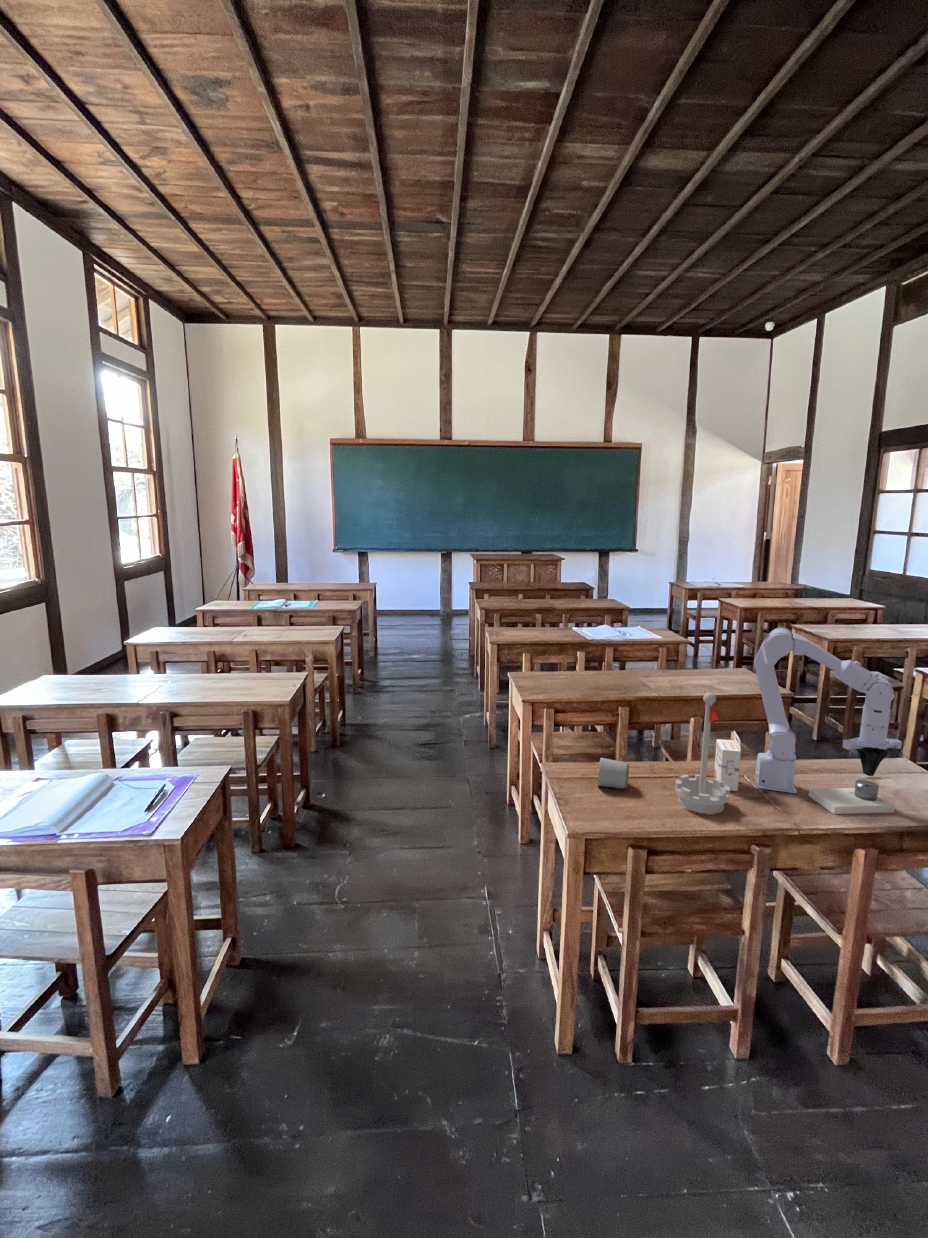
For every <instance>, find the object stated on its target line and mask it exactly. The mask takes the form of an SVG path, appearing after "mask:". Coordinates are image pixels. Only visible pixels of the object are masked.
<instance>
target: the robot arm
mask: <svg viewBox="0 0 928 1238" xmlns="http://www.w3.org/2000/svg"><path fill="white" fill-rule="evenodd" d="M791 652H792V656H806V657H809V658H810V659H811V660H813V661H816V662H817V663H819V664H821V665H823V666H825V667H826V668H828V669H830V670H832V671H833V672H834V675H835V676H834V677H835V678H836V679H837V680H839V681H841V682H842V683H844V684H845V685H847V686H849V687H850V688H852V689H854V690H856V691H857V692H859V693H862V694H865V698H864V699H865V701H864V704H863V706H862V712H861V713H862V715H861V723H860V729H859V737H854V738H849V739H843V740H842V746H841V747H842V748H843V749H845V750H848V751H849V750H852V749H853V750H854V749H855V750H856V752H857V754H858V756H859V759H860V763H861V767H862V773H863V774H864V775H866V776H868V777H874V775H875V773H876V771H877V770H878V767H879V766H880V764H881V762H882V761H883V760H884V759H885V758H886V757H887V756H888V754H889V752H888V751H887V749H897V750H900V749H902V744H903V741H901V740H900V739H897V738H888V731H889V726H890V725H889V723H890V717H891V716H890V714H891V709H890V708H891V705H892V701H893V700H894V698H895V696H896V695H895V691H894V688H893V686H892V684H891V683H890V681H888V679H886V678H885V677H884V676H881V675H880V674H879V673H878V672H874V673H873V672H872V671H870V670H868V669H867V668H864V667H863V666H861V665H862V664H861V662H859V661H858V660H855V661H853V660H851V659H847V660H841V659H840V658H838V657H837V656H835V655H834V654H832V653H830V652H828V651H827V650H825V649H824V648H822V647H820V646H819V645H817V644H816V643H815V642H813V641H811V640H810V639H807V638H806V637H804V636H803V635H801V634H799V633H796V632H793V631H791V630H790V629H789V628H786V627H776V628H774V629H772V630H771V631H770V632H769V633H768V634H767V635H766V636H765V637H764V639H763V642H762V643H761V645H760V648H759V649H758V652H757V654H756V656H755V658H754V661H753V667H754V670H755V674H756V678H757V682H758V688H759V689H760V694H761V698H762V703H763V707H764V711H765V715H766V720H767V723H768V732H769V738H770V740H769V745H768V749H767V750H766V752H759V753H757V758H756V766H755V774H754V775H755V776H754V778H755V782H756V784H757V788H759V789H762V790H770V791H777V792H782V793H791V794H797V793H798V791H797V788H796V786H795V785H794V784H795V783H794V781H795V772H796V763H797V755H796V744H797V738H796V734H795V732H793V730H791V727H790V725H789V722H788V718H787V716H786V715H787V714H786V712H785V707H784V703H783V698H782V695H781V691H780V687H779V683H778V678H777V674H776V670H775V665H776V664H777V663H778V661H779V660H780V659H781V658H783V657H785V656H787V655H788V654H789V653H791Z"/></svg>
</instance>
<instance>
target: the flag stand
mask: <svg viewBox="0 0 928 1238" xmlns="http://www.w3.org/2000/svg"><path fill="white" fill-rule="evenodd" d="M702 698H703V702H704V703H705V712H704V721H703V722H704V724H703V735H702V747H701V748H702V749H701V761H700V771H699V772H700V773H699V774H694V775H695V777H694V778H692V777H691V778H690V777H689V775H688V774H683V775H679V779H675V787H674V789H675V793H676V794H677V795H678V803H679V802H680V803H681V805H683V806H684V807H686V808H688V809H689V810H688V809H687V810H688V811H690V810H693V811H696V812H699V813H698V814H701V813H706V814H705V815H714V814H713V813H718V814H720V813H722V812H723V811H724V809H725V804H726V803H727V802H729V800H730V788H729V786H723V782H722V781H720V780H718V779H716V778H715V779H714V778H713V780H708V779H707V775H708V774H707V773H708V772H707V771H708V762H709V761H708V760H709V750H710V739H711V738H710V736H711V726H712V725H711V724H712V722H713V721H718V720H719V717H718V715H717V713H716V711H715V710H714V708H713V704H715V702H716V699H717V698H716V695H715V694H714V693H712V692H707V693H704V695H703V697H702ZM680 803H679V804H680ZM681 805H680V806H681ZM683 806H682V807H683ZM684 807H683V808H684ZM686 808H685V809H686ZM722 810H723V811H722ZM693 811H692V812H693ZM721 811H722V812H721ZM696 812H695V813H696ZM719 812H720V813H719Z"/></svg>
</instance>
